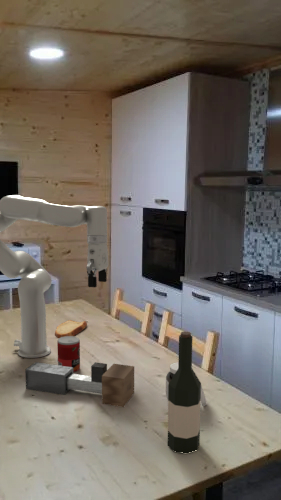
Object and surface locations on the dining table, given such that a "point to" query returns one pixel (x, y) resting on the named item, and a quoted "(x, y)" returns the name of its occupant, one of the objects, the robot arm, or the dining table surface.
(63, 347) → the canned food
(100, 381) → the steel bar
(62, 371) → the sleeve
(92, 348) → the dining table surface
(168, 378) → the white mug
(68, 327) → the slice of bread
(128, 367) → the socket block
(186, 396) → the wine bottle
